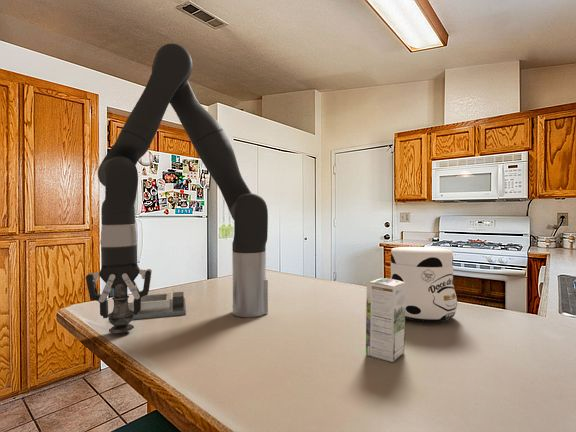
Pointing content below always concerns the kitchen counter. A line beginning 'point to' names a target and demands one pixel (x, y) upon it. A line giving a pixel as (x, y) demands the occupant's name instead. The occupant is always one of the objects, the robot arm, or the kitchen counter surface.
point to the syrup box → (385, 319)
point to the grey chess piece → (120, 311)
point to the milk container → (425, 282)
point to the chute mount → (160, 305)
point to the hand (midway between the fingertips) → (121, 315)
